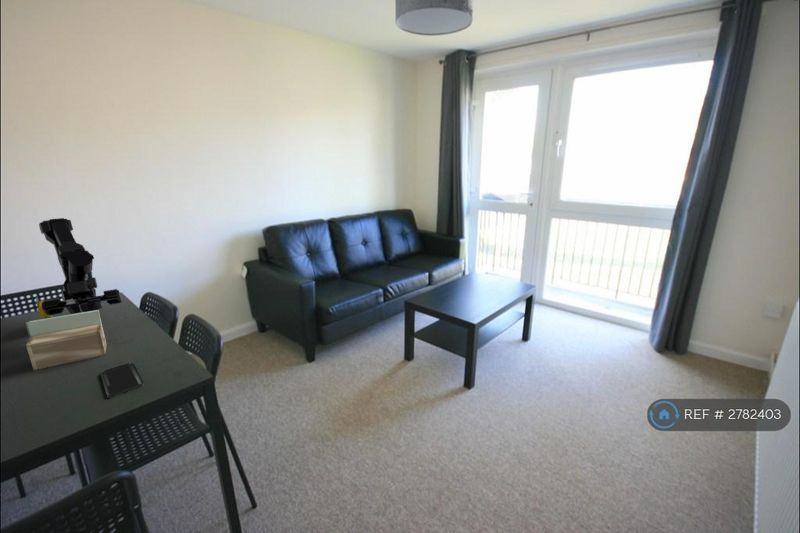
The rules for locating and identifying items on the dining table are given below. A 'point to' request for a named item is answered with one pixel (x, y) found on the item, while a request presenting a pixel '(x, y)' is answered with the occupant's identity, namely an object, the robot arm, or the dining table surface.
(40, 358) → the crate
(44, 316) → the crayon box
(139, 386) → the phone
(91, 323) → the flap
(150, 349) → the dining table surface
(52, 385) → the dining table surface
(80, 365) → the dining table surface
